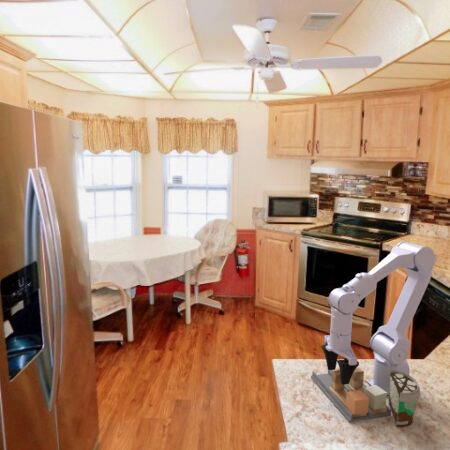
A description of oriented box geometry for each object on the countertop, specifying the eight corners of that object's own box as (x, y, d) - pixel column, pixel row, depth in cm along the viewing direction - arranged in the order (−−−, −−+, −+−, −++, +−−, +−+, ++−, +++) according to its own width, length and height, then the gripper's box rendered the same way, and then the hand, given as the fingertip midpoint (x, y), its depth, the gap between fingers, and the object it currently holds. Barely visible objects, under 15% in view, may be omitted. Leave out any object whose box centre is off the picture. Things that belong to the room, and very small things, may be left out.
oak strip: (342, 389, 112) (343, 369, 111) (366, 415, 100) (367, 393, 99) (329, 391, 111) (330, 371, 110) (352, 417, 99) (353, 395, 98)
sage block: (374, 398, 106) (375, 384, 105) (385, 406, 102) (386, 392, 101) (363, 401, 104) (364, 387, 104) (374, 410, 101) (375, 395, 100)
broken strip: (360, 386, 113) (361, 367, 112) (386, 412, 102) (388, 390, 101) (347, 388, 112) (348, 368, 111) (372, 414, 101) (374, 392, 100)
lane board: (346, 372, 122) (346, 367, 122) (391, 415, 101) (391, 409, 101) (310, 377, 120) (311, 371, 119) (348, 422, 98) (349, 415, 98)
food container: (424, 434, 94) (427, 397, 93) (397, 430, 95) (400, 393, 94) (410, 404, 106) (413, 370, 105) (387, 401, 107) (389, 368, 106)
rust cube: (359, 403, 103) (360, 390, 103) (367, 412, 99) (368, 398, 99) (345, 405, 102) (346, 391, 102) (354, 415, 98) (355, 400, 98)
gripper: (315, 322, 114) (313, 365, 116) (341, 344, 100) (338, 392, 102) (337, 320, 115) (334, 362, 117) (365, 341, 101) (362, 389, 103)
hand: (338, 376), depth 110 cm, fingers open, 7 cm apart
